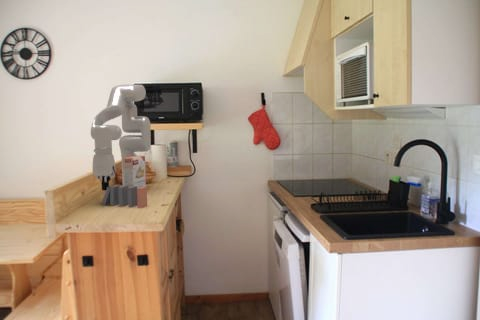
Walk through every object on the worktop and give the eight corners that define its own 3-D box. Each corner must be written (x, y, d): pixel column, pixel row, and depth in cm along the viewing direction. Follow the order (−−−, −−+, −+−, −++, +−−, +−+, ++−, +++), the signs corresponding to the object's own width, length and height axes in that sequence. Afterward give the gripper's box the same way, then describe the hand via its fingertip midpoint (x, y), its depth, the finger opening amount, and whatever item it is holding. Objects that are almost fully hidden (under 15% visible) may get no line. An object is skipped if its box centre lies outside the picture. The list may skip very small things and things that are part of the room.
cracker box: (134, 198, 188) (133, 158, 186) (123, 197, 189) (122, 157, 187) (146, 193, 202) (145, 155, 200) (136, 192, 203) (135, 155, 201)
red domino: (137, 207, 167) (137, 188, 166) (143, 205, 172) (143, 186, 171) (141, 207, 167) (140, 188, 166) (147, 205, 172) (146, 186, 171)
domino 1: (101, 203, 173) (107, 186, 171) (108, 201, 178) (113, 185, 176) (104, 205, 173) (110, 188, 171) (111, 203, 177) (116, 186, 176)
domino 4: (128, 207, 169) (127, 187, 168) (134, 204, 174) (133, 186, 173) (131, 207, 168) (131, 188, 167) (137, 204, 173) (137, 186, 172)
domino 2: (110, 205, 172) (110, 186, 171) (116, 203, 177) (117, 184, 175) (113, 205, 171) (113, 187, 170) (119, 203, 176) (120, 185, 175)
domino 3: (119, 206, 170) (118, 187, 169) (125, 204, 175) (124, 185, 174) (122, 206, 170) (121, 187, 169) (128, 204, 175) (128, 185, 174)
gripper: (85, 152, 171) (87, 190, 173) (111, 152, 167) (113, 192, 169) (95, 150, 179) (97, 187, 180) (121, 151, 174) (123, 189, 176)
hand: (105, 189), depth 175 cm, fingers closed
